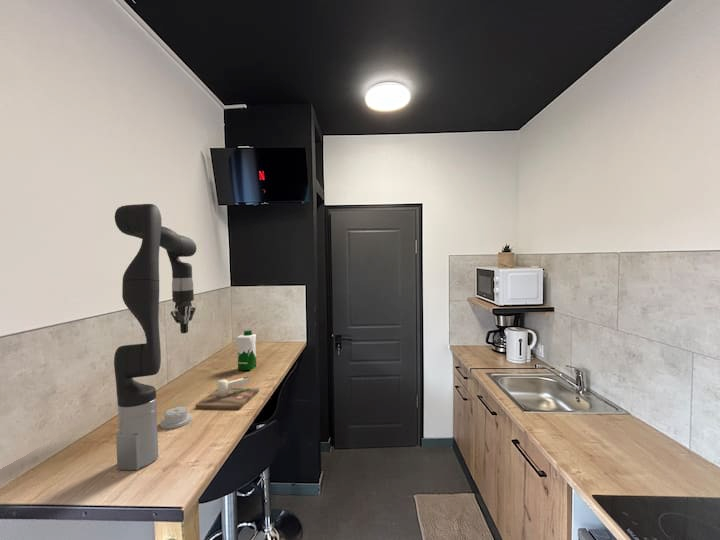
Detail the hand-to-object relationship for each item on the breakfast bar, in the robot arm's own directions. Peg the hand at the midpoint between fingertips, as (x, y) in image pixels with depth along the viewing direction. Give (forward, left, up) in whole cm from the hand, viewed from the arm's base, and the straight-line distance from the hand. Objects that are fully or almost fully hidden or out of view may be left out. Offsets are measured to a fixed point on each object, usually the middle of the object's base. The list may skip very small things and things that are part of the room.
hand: (184, 332), depth 136 cm
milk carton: (+47, -4, -29) cm, 55 cm away
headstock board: (+6, -14, -29) cm, 33 cm away
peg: (+9, -15, -27) cm, 32 cm away
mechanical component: (-14, -5, -30) cm, 33 cm away
